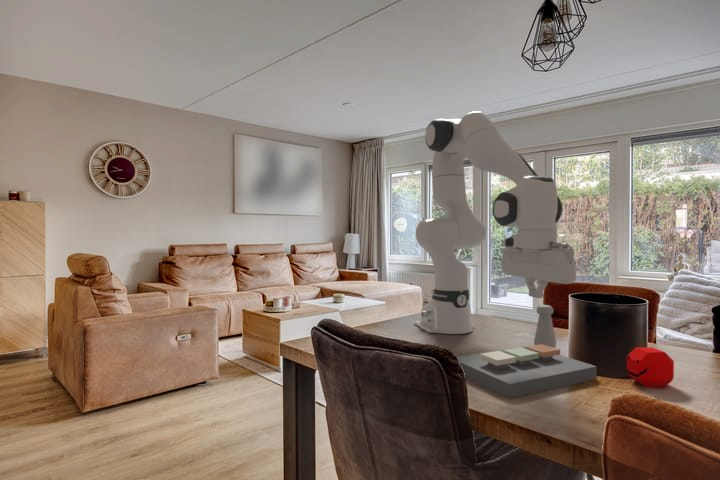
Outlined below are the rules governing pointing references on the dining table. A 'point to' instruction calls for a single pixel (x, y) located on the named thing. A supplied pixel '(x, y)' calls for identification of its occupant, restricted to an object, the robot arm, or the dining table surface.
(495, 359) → the cream button
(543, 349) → the terracotta button
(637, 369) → the ball
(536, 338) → the salt shaker
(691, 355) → the dining table surface
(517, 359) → the sage button
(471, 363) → the panel
